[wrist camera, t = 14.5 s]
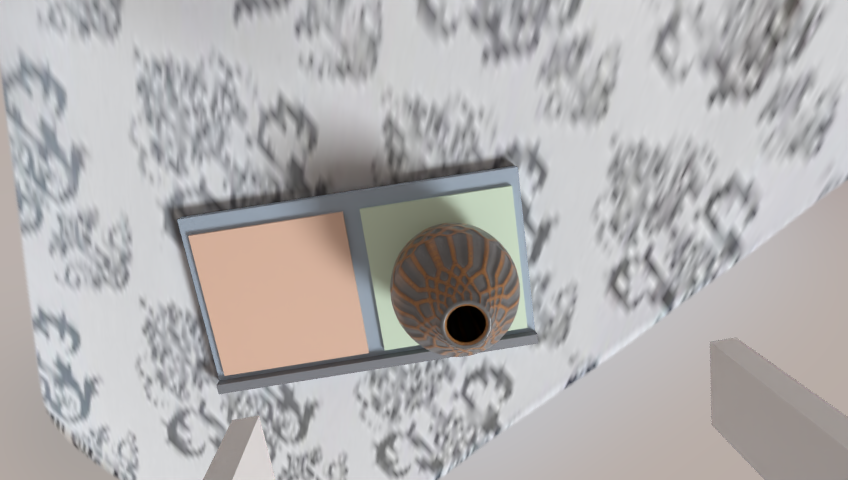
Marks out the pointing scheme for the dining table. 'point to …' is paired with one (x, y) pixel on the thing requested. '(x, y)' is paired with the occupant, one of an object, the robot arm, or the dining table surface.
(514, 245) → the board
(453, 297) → the vase
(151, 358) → the dining table surface
